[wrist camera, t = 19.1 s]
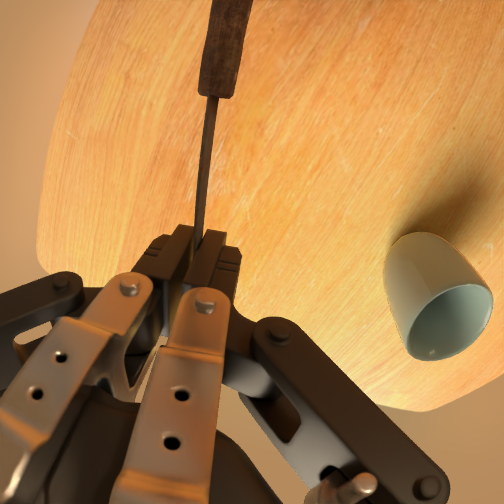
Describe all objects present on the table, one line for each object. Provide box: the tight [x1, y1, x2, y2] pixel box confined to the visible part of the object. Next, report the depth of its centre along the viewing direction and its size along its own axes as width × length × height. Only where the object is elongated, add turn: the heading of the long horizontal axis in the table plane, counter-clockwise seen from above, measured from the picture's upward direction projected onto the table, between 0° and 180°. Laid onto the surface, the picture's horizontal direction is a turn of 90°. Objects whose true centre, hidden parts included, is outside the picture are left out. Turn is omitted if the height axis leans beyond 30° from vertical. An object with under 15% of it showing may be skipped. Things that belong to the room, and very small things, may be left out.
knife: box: [193, 0, 253, 258], centre depth 8 cm, size 16×1×2 cm, turn 171°
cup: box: [383, 232, 493, 361], centre depth 22 cm, size 8×8×10 cm
